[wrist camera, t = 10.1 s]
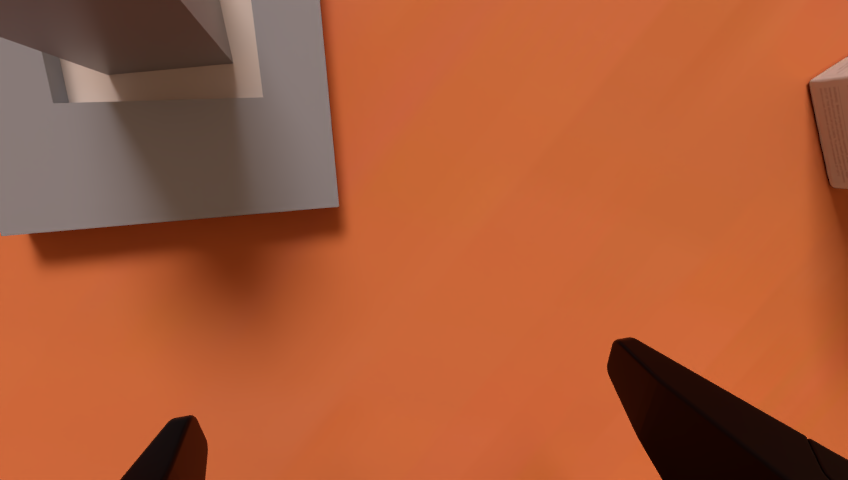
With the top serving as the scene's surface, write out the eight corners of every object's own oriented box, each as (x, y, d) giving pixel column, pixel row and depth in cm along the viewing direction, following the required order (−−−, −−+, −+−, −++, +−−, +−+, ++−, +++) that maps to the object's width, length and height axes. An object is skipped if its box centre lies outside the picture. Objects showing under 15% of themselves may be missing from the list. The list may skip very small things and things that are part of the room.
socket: (336, 202, 21) (339, 206, 19) (25, 228, 18) (1, 236, 16) (296, -221, 17) (295, -254, 16) (-102, -275, 14) (-147, -322, 13)
